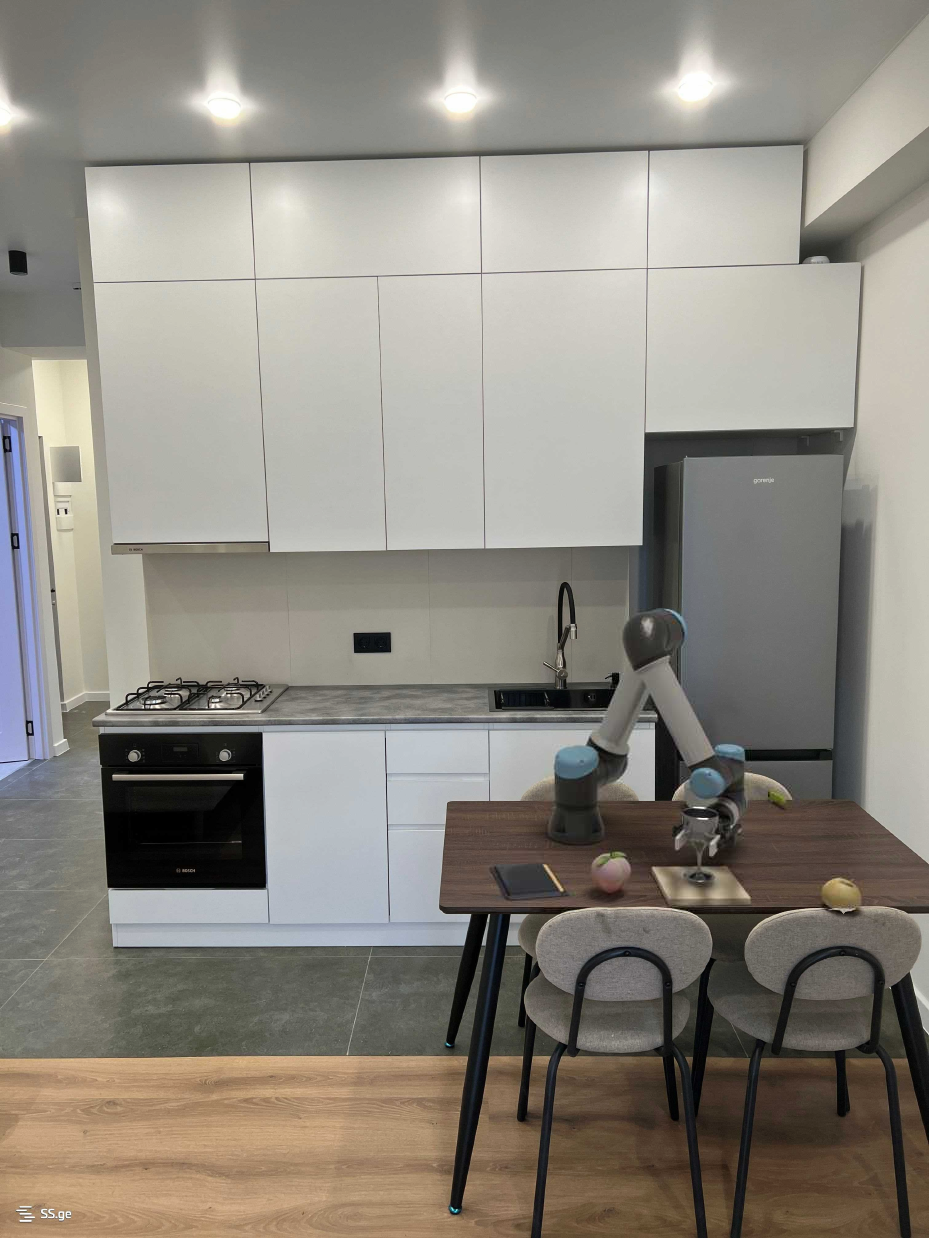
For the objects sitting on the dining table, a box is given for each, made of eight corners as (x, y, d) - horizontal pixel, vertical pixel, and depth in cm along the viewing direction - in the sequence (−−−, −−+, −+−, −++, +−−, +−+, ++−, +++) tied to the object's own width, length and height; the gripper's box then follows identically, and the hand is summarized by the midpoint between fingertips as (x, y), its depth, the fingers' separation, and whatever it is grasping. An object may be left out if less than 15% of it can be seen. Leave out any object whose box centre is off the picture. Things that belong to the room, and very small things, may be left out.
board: (668, 905, 191) (669, 898, 191) (651, 872, 209) (651, 866, 209) (750, 904, 191) (750, 898, 191) (726, 872, 209) (726, 866, 209)
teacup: (723, 816, 249) (723, 789, 248) (684, 814, 251) (684, 787, 250) (719, 801, 262) (719, 775, 262) (682, 799, 265) (682, 773, 264)
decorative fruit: (607, 881, 204) (607, 840, 203) (636, 891, 198) (636, 849, 197) (582, 893, 198) (582, 851, 197) (611, 904, 192) (611, 860, 191)
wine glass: (721, 882, 196) (722, 818, 194) (685, 882, 196) (687, 818, 194) (711, 868, 204) (713, 806, 202) (677, 869, 204) (678, 807, 202)
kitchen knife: (749, 791, 275) (749, 781, 275) (753, 791, 276) (753, 781, 275) (782, 808, 253) (782, 798, 253) (786, 808, 253) (786, 797, 253)
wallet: (488, 862, 214) (549, 858, 216) (488, 869, 214) (549, 865, 216) (503, 896, 194) (569, 891, 196) (503, 904, 194) (569, 899, 196)
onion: (821, 913, 187) (822, 881, 186) (820, 898, 194) (821, 867, 193) (862, 918, 184) (863, 886, 183) (859, 903, 191) (860, 872, 191)
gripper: (760, 838, 210) (738, 871, 190) (679, 825, 220) (650, 855, 200) (761, 808, 209) (739, 838, 189) (679, 796, 219) (650, 823, 199)
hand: (693, 847), depth 195 cm, fingers closed on wine glass, 7 cm apart
